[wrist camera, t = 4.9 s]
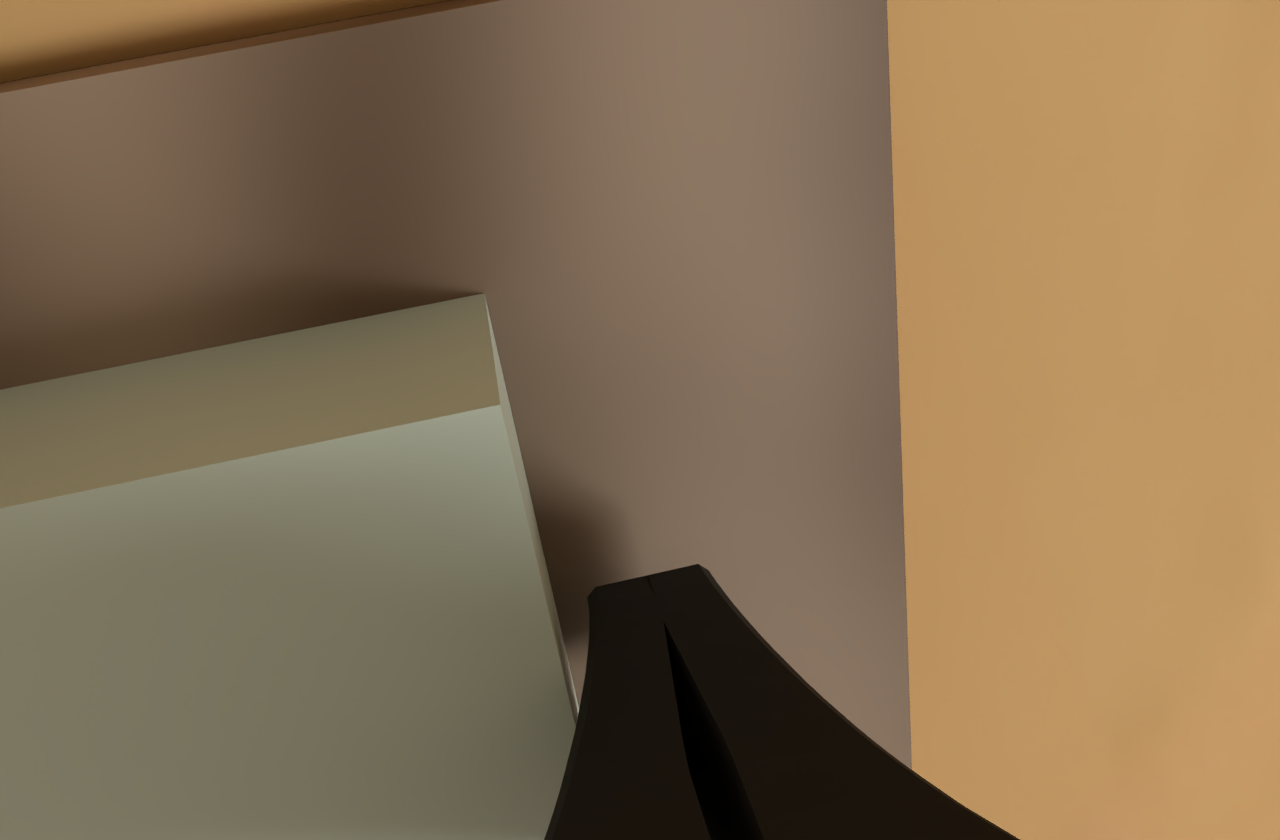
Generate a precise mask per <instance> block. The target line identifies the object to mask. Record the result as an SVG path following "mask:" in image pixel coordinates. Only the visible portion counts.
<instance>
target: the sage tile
mask: <svg viewBox="0 0 1280 840" xmlns="http://www.w3.org/2000/svg"><path fill="white" fill-rule="evenodd" d="M578 713H579V706H578V702H577V698H576V693H575V689H574V684H573V680H572V676H571V671H570V667H569V662H568V658H567V654H566V649H565V645H564V641H563V636H562V632H561V627H560V623H559V619H558V614H557V610H556V605H555V601H554V597H553V592H552V588H551V583H550V579H549V575H548V570H547V566H546V561H545V557H544V553H543V548H542V544H541V540H540V535H539V531H538V526H537V522H536V518H535V513H534V509H533V504H532V500H531V496H530V491H529V487H528V482H527V478H526V474H525V469H524V465H523V460H522V456H521V452H520V447H519V443H518V439H517V434H516V430H515V425H514V421H513V417H512V412H511V408H510V403H509V399H508V395H507V390H506V386H505V381H504V377H503V373H502V368H501V364H500V359H499V355H498V351H497V346H496V342H495V338H494V333H493V329H492V324H491V320H490V316H489V311H488V307H487V302H486V298H485V294H484V293H483V294H478V295H473V296H468V297H463V298H458V299H453V300H448V301H443V302H438V303H433V304H428V305H423V306H418V307H413V308H407V309H402V310H397V311H392V312H387V313H382V314H377V315H372V316H367V317H362V318H357V319H352V320H347V321H342V322H337V323H332V324H327V325H322V326H317V327H312V328H307V329H302V330H297V331H292V332H287V333H282V334H277V335H272V336H267V337H262V338H257V339H252V340H247V341H242V342H237V343H232V344H227V345H222V346H217V347H212V348H207V349H202V350H197V351H192V352H187V353H182V354H177V355H172V356H167V357H162V358H157V359H152V360H147V361H142V362H137V363H132V364H127V365H122V366H117V367H112V368H107V369H102V370H97V371H92V372H87V373H81V374H76V375H71V376H66V377H61V378H56V379H51V380H46V381H41V382H36V383H31V384H26V385H21V386H16V387H11V388H6V389H1V390H0V840H544V838H545V836H546V833H547V830H548V827H549V824H550V821H551V818H552V814H553V811H554V808H555V805H556V801H557V798H558V795H559V792H560V788H561V784H562V780H563V776H564V773H565V769H566V765H567V761H568V757H569V753H570V749H571V745H572V741H573V737H574V733H575V729H576V724H577V719H578Z"/></svg>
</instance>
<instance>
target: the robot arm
mask: <svg viewBox="0 0 1280 840" xmlns="http://www.w3.org/2000/svg"><path fill="white" fill-rule="evenodd" d="M587 600H588V607H589V643H588V654H587V663H586V672H585V679H584V684H583V690H582V696H581V702H580V707H579V713H578V719H577V724H576V729H575V733H574V737H573V741H572V745H571V749H570V753H569V757H568V761H567V765H566V769H565V773H564V776H563V780H562V784H561V788H560V792H559V795H558V798H557V801H556V805H555V808H554V811H553V814H552V818H551V821H550V824H549V827H548V830H547V833H546V836H545V838H544V840H1020V839H1018V838H1016V837H1015V836H1013V835H1011V834H1010V833H1008V832H1006V831H1005V830H1003V829H1001V828H1000V827H998V826H996V825H995V824H993V823H991V822H990V821H988V820H986V819H985V818H983V817H981V816H980V815H978V814H976V813H975V812H973V811H971V810H970V809H968V808H966V807H965V806H963V805H962V804H960V803H958V802H957V801H956V800H954V799H953V798H951V797H950V796H948V795H947V794H945V793H944V792H942V791H941V790H940V789H938V788H937V787H935V786H934V785H932V784H931V783H929V782H928V781H926V780H925V779H924V778H922V777H921V776H919V775H918V774H917V773H915V772H914V771H913V770H911V769H910V768H909V767H907V766H906V765H904V764H903V763H902V762H900V761H899V760H898V759H896V758H895V757H894V756H892V755H891V754H890V753H888V752H887V751H886V750H885V749H883V748H882V747H881V746H880V745H878V744H877V743H876V742H875V741H873V740H872V739H871V738H870V737H868V736H867V735H866V734H865V733H864V732H862V731H861V730H860V729H859V728H857V727H856V726H855V725H854V724H853V723H852V722H850V721H849V720H848V719H847V718H846V717H845V716H844V715H842V714H841V713H840V712H839V711H838V710H837V709H836V708H835V707H833V706H832V705H831V704H830V703H829V702H828V701H827V700H825V699H824V698H823V697H822V696H821V695H820V694H819V693H818V692H817V691H816V690H815V689H814V688H813V687H811V686H810V685H809V684H808V683H807V682H806V681H805V680H804V679H803V678H802V677H801V676H800V675H799V674H798V673H797V672H796V671H795V670H794V669H793V668H792V667H791V666H790V665H789V664H788V663H787V662H786V661H785V660H784V659H783V658H782V657H781V656H780V655H779V654H778V653H777V652H776V651H775V650H774V649H773V648H772V647H771V646H770V644H769V643H768V642H767V641H766V640H765V639H764V638H763V637H762V636H761V635H760V634H759V633H758V632H757V630H756V629H755V628H754V627H753V626H752V625H751V624H750V622H749V621H748V620H747V619H746V618H745V617H744V616H743V614H742V613H741V612H740V611H739V610H738V608H737V607H736V606H735V605H734V604H733V602H732V601H731V600H730V599H729V597H728V596H727V595H726V594H725V592H724V591H723V590H722V588H721V587H720V586H719V584H718V583H717V582H716V580H715V579H714V577H713V576H712V574H711V573H710V571H709V570H708V569H706V568H704V567H703V566H701V565H699V564H695V565H691V566H686V567H682V568H677V569H673V570H668V571H664V572H660V573H655V574H651V575H646V576H642V577H637V578H633V579H628V580H624V581H620V582H615V583H611V584H606V585H602V586H597V587H595V588H594V589H593V591H592V592H591V593H590V594H589V595H588V597H587Z"/></svg>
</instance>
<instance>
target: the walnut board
mask: <svg viewBox="0 0 1280 840" xmlns="http://www.w3.org/2000/svg"><path fill="white" fill-rule="evenodd" d="M483 293H484V294H485V298H486V302H487V307H488V311H489V316H490V320H491V324H492V329H493V333H494V338H495V342H496V346H497V351H498V355H499V359H500V364H501V368H502V373H503V377H504V381H505V386H506V390H507V395H508V399H509V403H510V408H511V412H512V417H513V421H514V425H515V430H516V434H517V439H518V443H519V447H520V452H521V456H522V460H523V465H524V469H525V474H526V478H527V482H528V487H529V491H530V496H531V500H532V504H533V509H534V513H535V518H536V522H537V526H538V531H539V535H540V540H541V544H542V548H543V553H544V557H545V561H546V566H547V570H548V575H549V579H550V583H551V588H552V592H553V597H554V601H555V605H556V610H557V614H558V619H559V623H560V627H561V632H562V636H563V641H564V645H565V649H566V654H567V658H568V662H569V667H570V671H571V676H572V680H573V684H574V689H575V693H576V698H577V702H578V706H579V707H580V702H581V696H582V690H583V684H584V679H585V672H586V663H587V654H588V643H589V607H588V600H587V597H588V595H589V594H590V593H591V592H592V591H593V589H594V588H595V587H597V586H602V585H606V584H611V583H615V582H620V581H624V580H628V579H633V578H637V577H642V576H646V575H651V574H655V573H660V572H664V571H668V570H673V569H677V568H682V567H686V566H691V565H695V564H699V565H701V566H703V567H704V568H706V569H708V570H709V571H710V573H711V574H712V576H713V577H714V579H715V580H716V582H717V583H718V584H719V586H720V587H721V588H722V590H723V591H724V592H725V594H726V595H727V596H728V597H729V599H730V600H731V601H732V602H733V604H734V605H735V606H736V607H737V608H738V610H739V611H740V612H741V613H742V614H743V616H744V617H745V618H746V619H747V620H748V621H749V622H750V624H751V625H752V626H753V627H754V628H755V629H756V630H757V632H758V633H759V634H760V635H761V636H762V637H763V638H764V639H765V640H766V641H767V642H768V643H769V644H770V646H771V647H772V648H773V649H774V650H775V651H776V652H777V653H778V654H779V655H780V656H781V657H782V658H783V659H784V660H785V661H786V662H787V663H788V664H789V665H790V666H791V667H792V668H793V669H794V670H795V671H796V672H797V673H798V674H799V675H800V676H801V677H802V678H803V679H804V680H805V681H806V682H807V683H808V684H809V685H810V686H811V687H813V688H814V689H815V690H816V691H817V692H818V693H819V694H820V695H821V696H822V697H823V698H824V699H825V700H827V701H828V702H829V703H830V704H831V705H832V706H833V707H835V708H836V709H837V710H838V711H839V712H840V713H841V714H842V715H844V716H845V717H846V718H847V719H848V720H849V721H850V722H852V723H853V724H854V725H855V726H856V727H857V728H859V729H860V730H861V731H862V732H864V733H865V734H866V735H867V736H868V737H870V738H871V739H872V740H873V741H875V742H876V743H877V744H878V745H880V746H881V747H882V748H883V749H885V750H886V751H887V752H888V753H890V754H891V755H892V756H894V757H895V758H896V759H898V760H899V761H900V762H902V763H903V764H904V765H906V766H907V767H909V768H910V769H911V770H912V762H911V731H910V700H909V669H908V638H907V608H906V577H905V546H904V515H903V484H902V454H901V423H900V392H899V361H898V330H897V299H896V269H895V238H894V207H893V176H892V145H891V115H890V84H889V53H888V22H887V0H450V1H444V2H439V3H434V4H428V5H423V6H417V7H412V8H406V9H401V10H396V11H390V12H385V13H379V14H374V15H369V16H363V17H358V18H352V19H347V20H341V21H336V22H331V23H325V24H320V25H314V26H309V27H304V28H298V29H293V30H287V31H282V32H277V33H271V34H266V35H260V36H255V37H249V38H244V39H239V40H233V41H228V42H222V43H217V44H212V45H206V46H201V47H195V48H190V49H185V50H179V51H174V52H168V53H163V54H157V55H152V56H147V57H141V58H136V59H130V60H125V61H120V62H114V63H109V64H103V65H98V66H92V67H87V68H82V69H76V70H71V71H65V72H60V73H55V74H49V75H44V76H38V77H33V78H28V79H22V80H17V81H11V82H6V83H0V390H1V389H6V388H11V387H16V386H21V385H26V384H31V383H36V382H41V381H46V380H51V379H56V378H61V377H66V376H71V375H76V374H81V373H87V372H92V371H97V370H102V369H107V368H112V367H117V366H122V365H127V364H132V363H137V362H142V361H147V360H152V359H157V358H162V357H167V356H172V355H177V354H182V353H187V352H192V351H197V350H202V349H207V348H212V347H217V346H222V345H227V344H232V343H237V342H242V341H247V340H252V339H257V338H262V337H267V336H272V335H277V334H282V333H287V332H292V331H297V330H302V329H307V328H312V327H317V326H322V325H327V324H332V323H337V322H342V321H347V320H352V319H357V318H362V317H367V316H372V315H377V314H382V313H387V312H392V311H397V310H402V309H407V308H413V307H418V306H423V305H428V304H433V303H438V302H443V301H448V300H453V299H458V298H463V297H468V296H473V295H478V294H483Z"/></svg>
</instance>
